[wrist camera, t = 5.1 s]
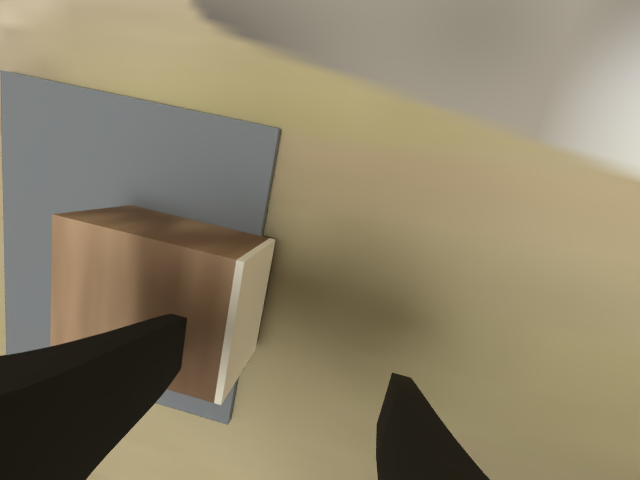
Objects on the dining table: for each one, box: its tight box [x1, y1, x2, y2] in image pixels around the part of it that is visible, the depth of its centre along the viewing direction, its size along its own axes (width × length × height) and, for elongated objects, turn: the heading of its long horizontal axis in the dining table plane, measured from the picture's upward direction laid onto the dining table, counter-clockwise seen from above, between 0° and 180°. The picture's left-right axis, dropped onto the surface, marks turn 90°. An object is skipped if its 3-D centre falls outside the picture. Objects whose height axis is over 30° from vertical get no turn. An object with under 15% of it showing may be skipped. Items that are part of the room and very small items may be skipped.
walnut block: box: [50, 205, 275, 405], centre depth 14 cm, size 4×6×8 cm
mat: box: [0, 70, 281, 425], centre depth 16 cm, size 14×16×1 cm
